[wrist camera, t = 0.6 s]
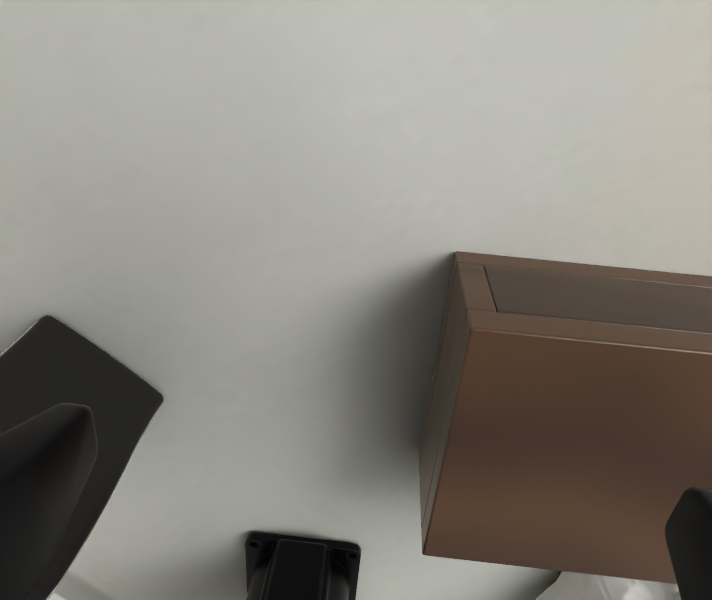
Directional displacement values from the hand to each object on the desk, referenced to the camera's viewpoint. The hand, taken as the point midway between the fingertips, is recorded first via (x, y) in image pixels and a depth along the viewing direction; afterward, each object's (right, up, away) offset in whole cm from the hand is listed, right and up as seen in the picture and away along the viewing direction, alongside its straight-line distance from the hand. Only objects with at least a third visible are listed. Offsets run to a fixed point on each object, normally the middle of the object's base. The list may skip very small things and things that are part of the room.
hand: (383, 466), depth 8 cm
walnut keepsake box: (+11, -1, +16) cm, 19 cm away
